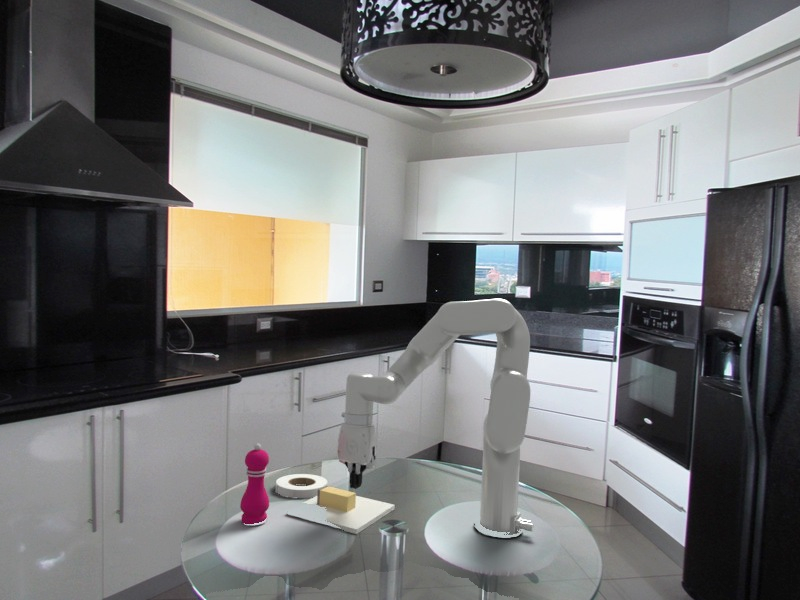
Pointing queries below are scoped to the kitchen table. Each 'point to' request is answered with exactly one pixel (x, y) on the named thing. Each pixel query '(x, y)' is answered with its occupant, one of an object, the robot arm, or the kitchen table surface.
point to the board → (356, 514)
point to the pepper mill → (255, 487)
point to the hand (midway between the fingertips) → (355, 486)
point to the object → (289, 489)
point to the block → (336, 498)
